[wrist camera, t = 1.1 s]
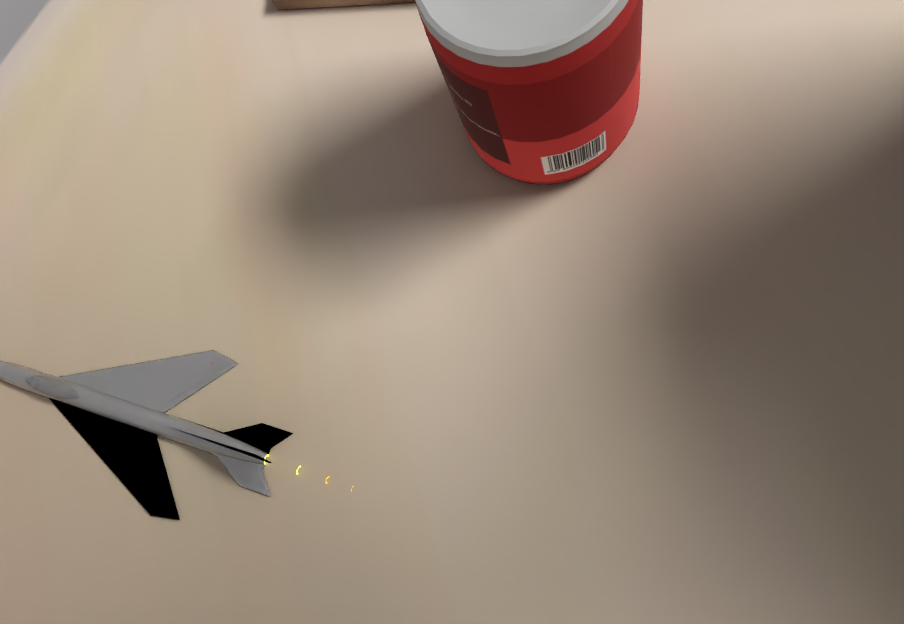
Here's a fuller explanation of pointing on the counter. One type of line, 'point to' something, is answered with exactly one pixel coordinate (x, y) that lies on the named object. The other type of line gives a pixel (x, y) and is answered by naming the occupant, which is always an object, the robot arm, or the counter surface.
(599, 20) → the canned food
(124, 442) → the toy airplane
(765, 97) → the counter surface
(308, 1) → the walnut board
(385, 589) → the counter surface
